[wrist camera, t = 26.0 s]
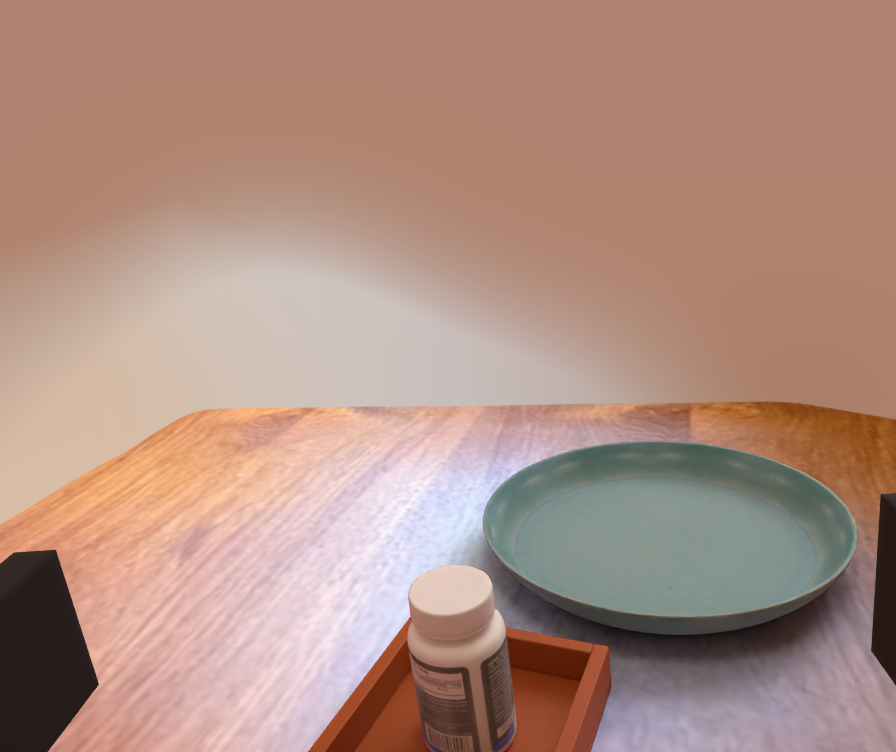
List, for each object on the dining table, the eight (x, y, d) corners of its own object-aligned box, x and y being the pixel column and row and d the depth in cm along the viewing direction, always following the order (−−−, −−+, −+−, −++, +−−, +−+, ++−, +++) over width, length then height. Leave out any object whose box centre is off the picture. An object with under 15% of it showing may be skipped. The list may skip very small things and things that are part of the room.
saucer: (925, 672, 37) (930, 617, 36) (463, 662, 42) (457, 613, 41) (796, 469, 60) (797, 431, 59) (505, 477, 65) (501, 443, 64)
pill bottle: (491, 685, 39) (475, 549, 37) (534, 745, 35) (519, 596, 33) (409, 718, 38) (386, 578, 35) (444, 785, 33) (421, 632, 31)
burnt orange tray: (611, 686, 39) (609, 645, 38) (548, 883, 29) (543, 834, 28) (420, 646, 44) (414, 610, 43) (310, 803, 34) (300, 760, 33)
